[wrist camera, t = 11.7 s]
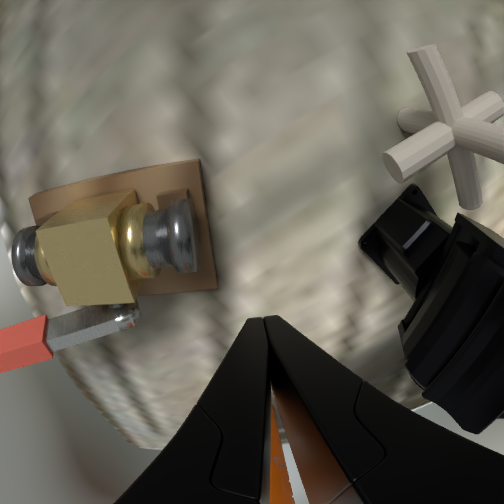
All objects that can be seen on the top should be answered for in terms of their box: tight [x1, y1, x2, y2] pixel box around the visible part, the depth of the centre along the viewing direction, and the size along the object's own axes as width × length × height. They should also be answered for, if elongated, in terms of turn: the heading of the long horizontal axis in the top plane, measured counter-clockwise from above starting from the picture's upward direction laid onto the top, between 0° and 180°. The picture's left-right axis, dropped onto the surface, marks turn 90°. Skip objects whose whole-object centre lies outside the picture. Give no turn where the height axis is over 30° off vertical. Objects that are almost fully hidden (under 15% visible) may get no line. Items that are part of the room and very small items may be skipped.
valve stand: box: [12, 159, 217, 309], centre depth 16 cm, size 13×9×6 cm
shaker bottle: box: [269, 405, 295, 504], centre depth 22 cm, size 9×9×20 cm
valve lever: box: [0, 299, 142, 373], centre depth 16 cm, size 3×2×13 cm
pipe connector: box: [382, 44, 504, 210], centre depth 12 cm, size 10×10×10 cm
